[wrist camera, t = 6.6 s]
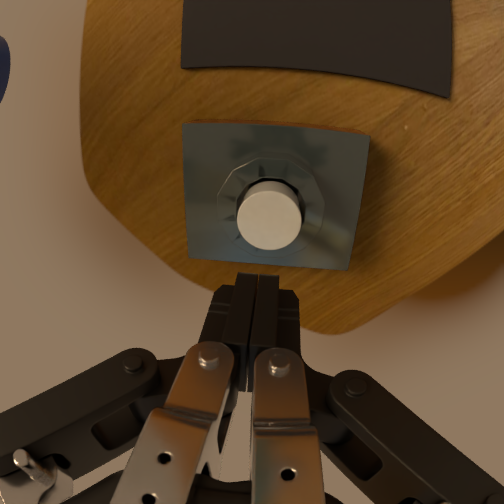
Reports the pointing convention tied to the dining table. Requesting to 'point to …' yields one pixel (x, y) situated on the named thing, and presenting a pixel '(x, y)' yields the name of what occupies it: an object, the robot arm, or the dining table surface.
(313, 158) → the push button box
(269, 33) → the mat
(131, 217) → the dining table surface
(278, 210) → the white push button
